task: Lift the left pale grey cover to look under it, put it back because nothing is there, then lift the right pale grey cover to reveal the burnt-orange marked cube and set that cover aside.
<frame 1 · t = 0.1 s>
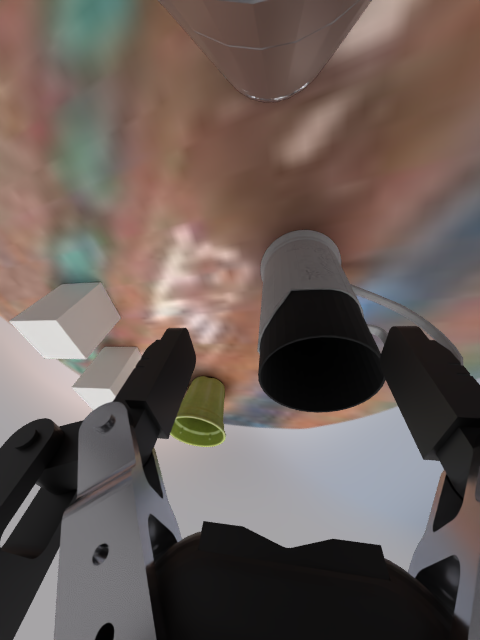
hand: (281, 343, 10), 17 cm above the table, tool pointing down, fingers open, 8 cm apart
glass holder: (324, 270, 26), on the table
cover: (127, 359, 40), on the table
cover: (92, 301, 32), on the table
plant pot: (208, 384, 42), on the table
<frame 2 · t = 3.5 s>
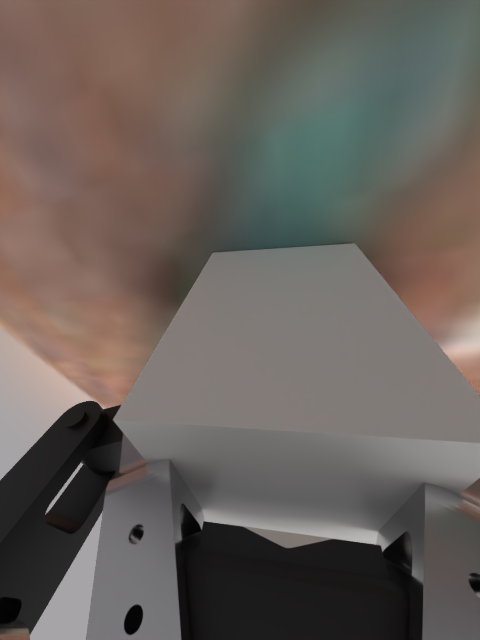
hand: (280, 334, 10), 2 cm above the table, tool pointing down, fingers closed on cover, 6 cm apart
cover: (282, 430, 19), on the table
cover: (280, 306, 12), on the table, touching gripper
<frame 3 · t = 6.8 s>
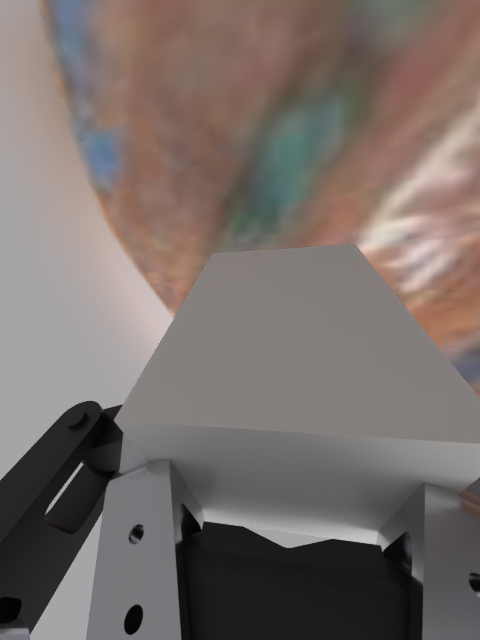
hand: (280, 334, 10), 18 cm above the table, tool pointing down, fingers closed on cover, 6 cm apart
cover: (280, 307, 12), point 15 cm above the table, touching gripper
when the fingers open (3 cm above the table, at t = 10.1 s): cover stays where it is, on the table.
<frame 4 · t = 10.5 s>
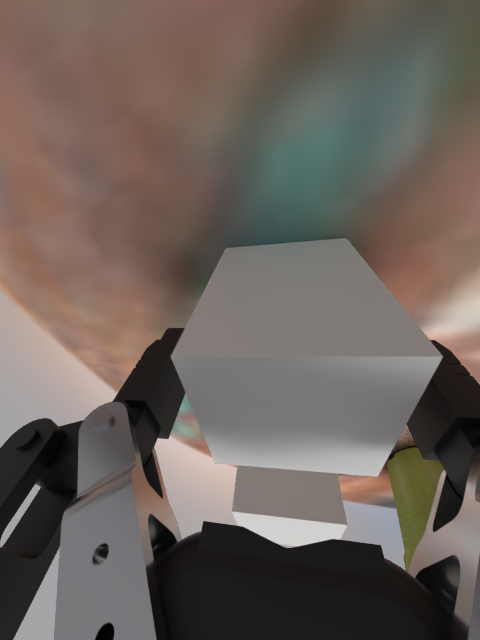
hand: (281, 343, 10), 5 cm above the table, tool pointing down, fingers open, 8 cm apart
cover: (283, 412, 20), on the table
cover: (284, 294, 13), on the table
plant pot: (419, 457, 22), on the table
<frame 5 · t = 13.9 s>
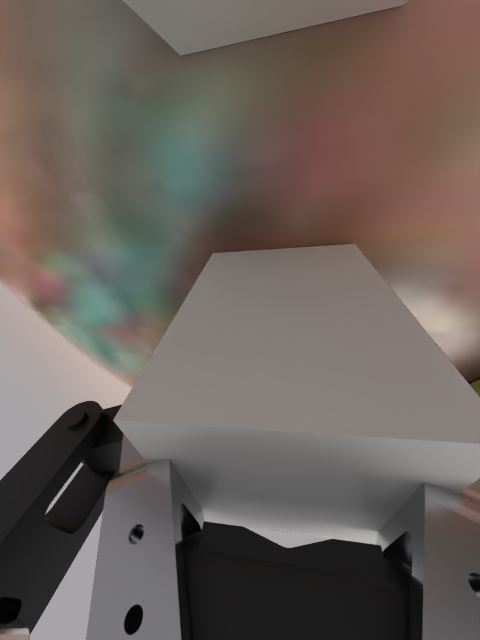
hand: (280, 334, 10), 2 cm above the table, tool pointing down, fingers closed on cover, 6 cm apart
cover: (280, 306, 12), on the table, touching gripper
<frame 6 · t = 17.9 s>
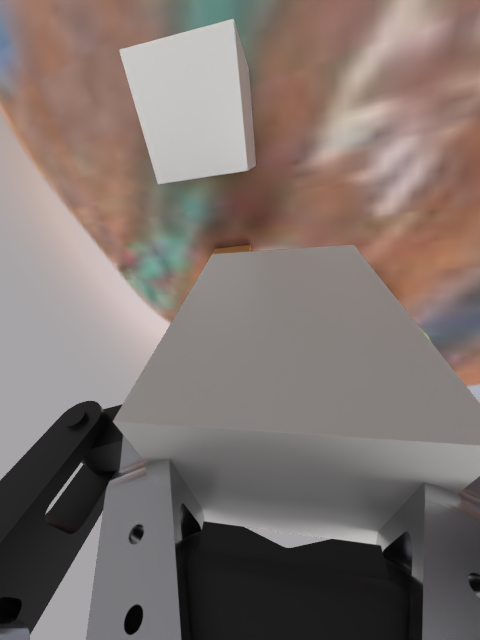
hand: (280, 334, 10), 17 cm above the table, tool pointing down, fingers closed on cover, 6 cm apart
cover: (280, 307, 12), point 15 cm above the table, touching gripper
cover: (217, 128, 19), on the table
orange cube: (235, 263, 26), on the table
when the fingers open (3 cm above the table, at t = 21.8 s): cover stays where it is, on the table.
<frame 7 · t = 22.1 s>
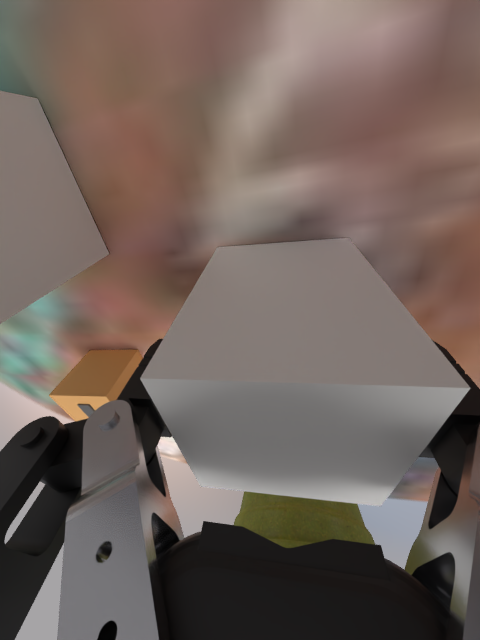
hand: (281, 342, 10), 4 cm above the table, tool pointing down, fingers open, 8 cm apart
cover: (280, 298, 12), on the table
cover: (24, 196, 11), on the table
orange cube: (125, 367, 18), on the table
plant pot: (292, 424, 20), on the table
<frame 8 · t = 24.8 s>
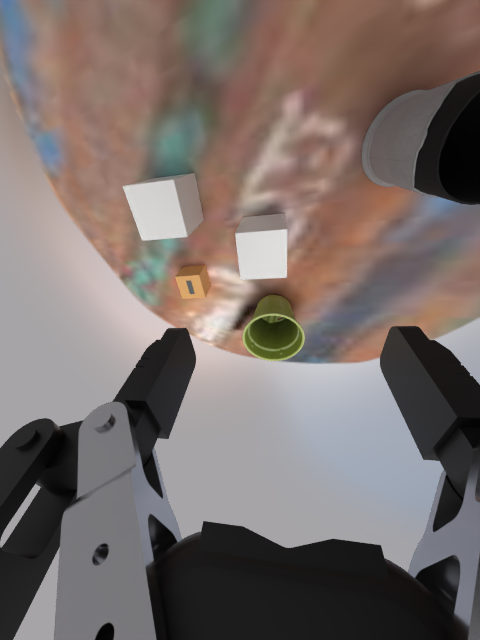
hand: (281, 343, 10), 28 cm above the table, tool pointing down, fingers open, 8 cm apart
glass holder: (427, 143, 26), on the table
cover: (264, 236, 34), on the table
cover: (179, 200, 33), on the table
orange cube: (197, 276, 40), on the table
plant pot: (273, 307, 42), on the table
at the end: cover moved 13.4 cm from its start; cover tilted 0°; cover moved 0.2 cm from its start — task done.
